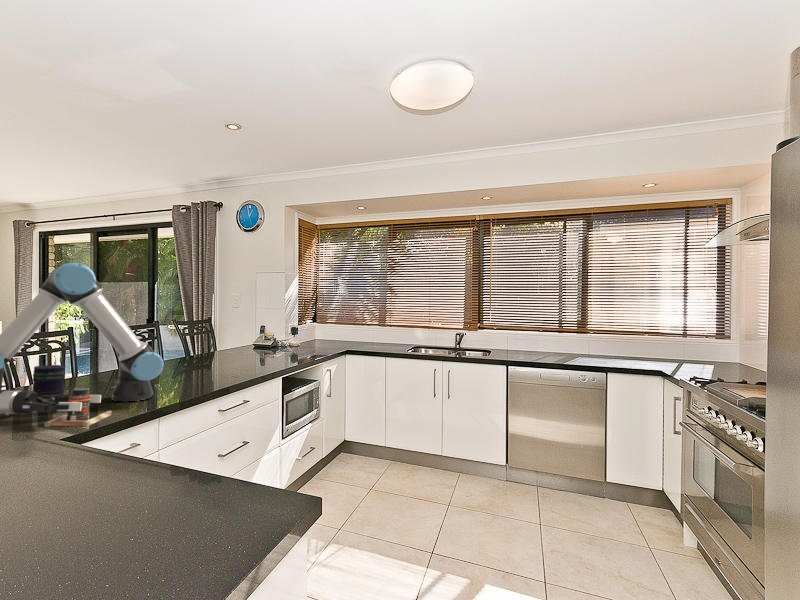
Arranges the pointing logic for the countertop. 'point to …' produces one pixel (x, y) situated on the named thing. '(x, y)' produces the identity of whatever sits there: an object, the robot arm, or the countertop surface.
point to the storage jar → (49, 380)
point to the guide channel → (75, 421)
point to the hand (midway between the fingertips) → (91, 402)
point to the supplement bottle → (83, 397)
